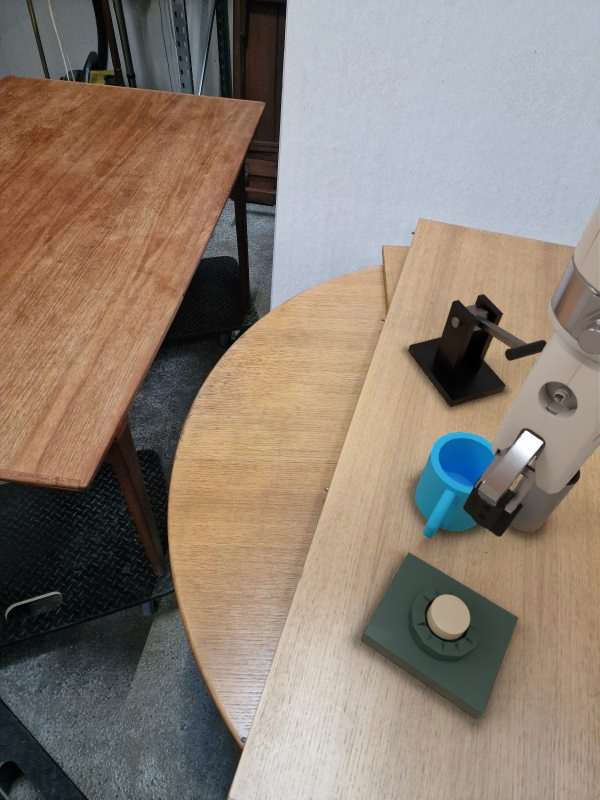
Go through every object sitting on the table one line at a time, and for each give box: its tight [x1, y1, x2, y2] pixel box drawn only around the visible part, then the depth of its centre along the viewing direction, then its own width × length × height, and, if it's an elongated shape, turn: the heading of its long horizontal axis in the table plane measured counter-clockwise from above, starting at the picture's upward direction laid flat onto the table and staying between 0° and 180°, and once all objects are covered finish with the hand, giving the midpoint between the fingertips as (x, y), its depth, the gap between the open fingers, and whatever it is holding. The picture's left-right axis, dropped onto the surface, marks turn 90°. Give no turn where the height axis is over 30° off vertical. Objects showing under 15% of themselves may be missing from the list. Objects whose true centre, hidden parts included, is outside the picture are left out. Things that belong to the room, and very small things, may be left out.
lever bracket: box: [407, 293, 507, 408], centre depth 72 cm, size 12×9×12 cm
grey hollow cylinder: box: [509, 456, 581, 533], centre depth 57 cm, size 4×4×10 cm
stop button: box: [427, 595, 470, 640], centre depth 48 cm, size 4×4×2 cm
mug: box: [414, 431, 497, 539], centre depth 58 cm, size 12×8×8 cm
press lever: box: [465, 303, 548, 362], centre depth 65 cm, size 12×5×2 cm, turn 21°
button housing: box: [360, 552, 519, 719], centre depth 50 cm, size 12×10×4 cm
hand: (517, 482), depth 40 cm, fingers open, 9 cm apart
